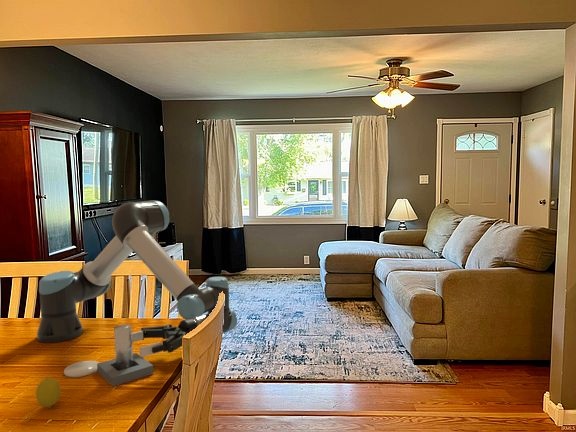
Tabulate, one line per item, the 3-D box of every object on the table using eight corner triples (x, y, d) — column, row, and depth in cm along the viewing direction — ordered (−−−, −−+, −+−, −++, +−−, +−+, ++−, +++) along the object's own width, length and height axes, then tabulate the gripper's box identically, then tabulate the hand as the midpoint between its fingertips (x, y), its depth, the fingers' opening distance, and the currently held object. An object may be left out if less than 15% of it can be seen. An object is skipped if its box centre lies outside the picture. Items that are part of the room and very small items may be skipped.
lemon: (51, 414, 109) (49, 383, 108) (31, 412, 110) (29, 381, 109) (66, 402, 114) (64, 373, 114) (48, 401, 115) (46, 371, 115)
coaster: (60, 369, 135) (60, 367, 135) (94, 360, 141) (94, 358, 141) (69, 380, 127) (69, 377, 127) (104, 370, 134) (104, 367, 134)
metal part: (114, 372, 132) (111, 327, 131) (130, 367, 135) (127, 323, 134) (120, 377, 128) (117, 331, 127) (136, 372, 131) (133, 327, 130)
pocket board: (97, 371, 133) (96, 363, 132) (136, 360, 140) (135, 352, 140) (112, 386, 123) (112, 377, 123) (153, 373, 131) (153, 365, 130)
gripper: (214, 350, 137) (149, 371, 123) (176, 330, 155) (116, 346, 141) (213, 327, 136) (147, 345, 122) (175, 310, 155) (115, 324, 141)
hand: (130, 346), depth 132 cm, fingers open, 13 cm apart
